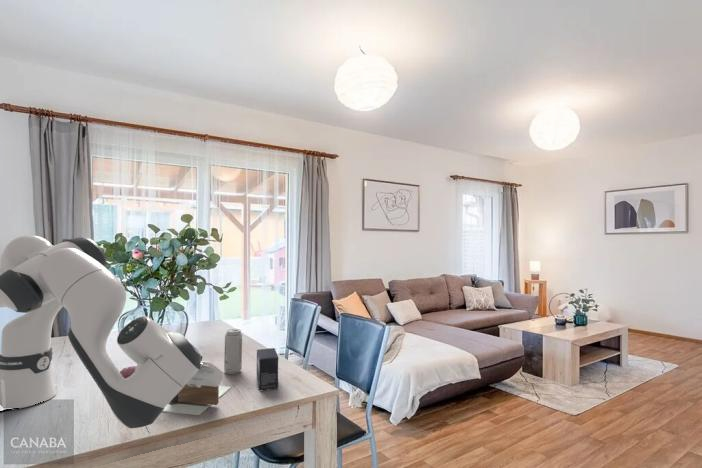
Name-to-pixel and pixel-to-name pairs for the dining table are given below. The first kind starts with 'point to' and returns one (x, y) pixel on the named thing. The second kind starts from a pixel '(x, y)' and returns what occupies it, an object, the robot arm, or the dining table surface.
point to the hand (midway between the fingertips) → (197, 384)
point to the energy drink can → (233, 351)
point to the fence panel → (199, 395)
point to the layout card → (191, 405)
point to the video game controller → (127, 371)
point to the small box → (267, 369)
